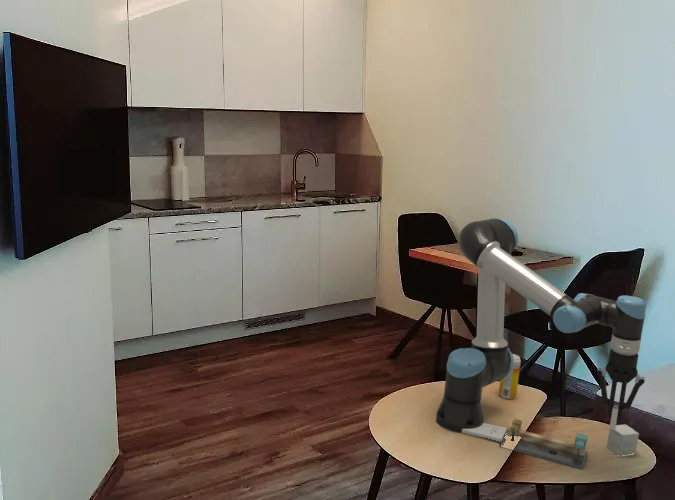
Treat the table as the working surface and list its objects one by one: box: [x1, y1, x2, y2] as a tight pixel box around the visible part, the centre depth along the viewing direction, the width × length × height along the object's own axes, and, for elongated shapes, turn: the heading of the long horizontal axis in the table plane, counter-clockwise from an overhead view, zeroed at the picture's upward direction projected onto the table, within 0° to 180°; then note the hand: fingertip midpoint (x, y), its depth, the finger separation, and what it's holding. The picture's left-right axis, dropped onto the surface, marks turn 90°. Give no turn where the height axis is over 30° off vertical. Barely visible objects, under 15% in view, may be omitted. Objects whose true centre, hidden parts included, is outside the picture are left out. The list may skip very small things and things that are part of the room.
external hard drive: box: [461, 422, 508, 442], centre depth 215 cm, size 2×8×12 cm
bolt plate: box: [499, 431, 588, 470], centre depth 207 cm, size 24×10×1 cm, turn 64°
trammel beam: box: [506, 418, 587, 456], centre depth 207 cm, size 23×6×5 cm, turn 64°
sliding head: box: [574, 432, 589, 459], centre depth 203 cm, size 3×6×5 cm, turn 154°
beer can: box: [498, 353, 522, 400], centre depth 242 cm, size 6×6×15 cm
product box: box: [606, 423, 640, 456], centre depth 209 cm, size 6×6×7 cm
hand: (612, 427), depth 199 cm, fingers closed
